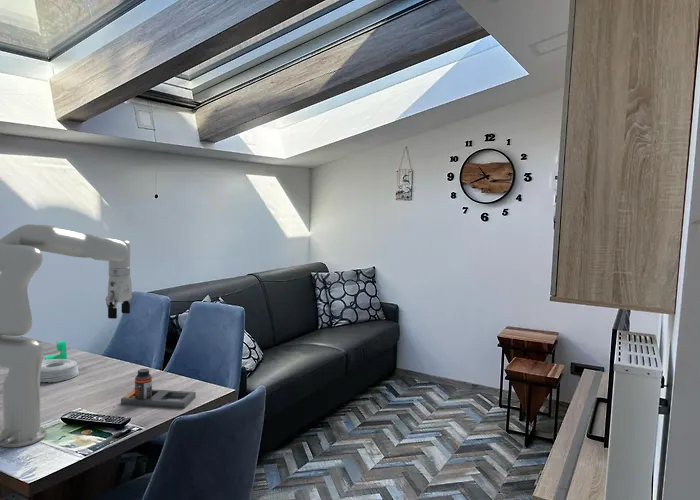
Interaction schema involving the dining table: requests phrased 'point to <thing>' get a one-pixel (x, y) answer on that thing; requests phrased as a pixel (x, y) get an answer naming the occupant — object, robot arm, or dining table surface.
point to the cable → (58, 370)
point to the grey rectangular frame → (160, 399)
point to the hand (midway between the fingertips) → (119, 315)
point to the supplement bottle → (143, 384)
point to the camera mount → (62, 348)
